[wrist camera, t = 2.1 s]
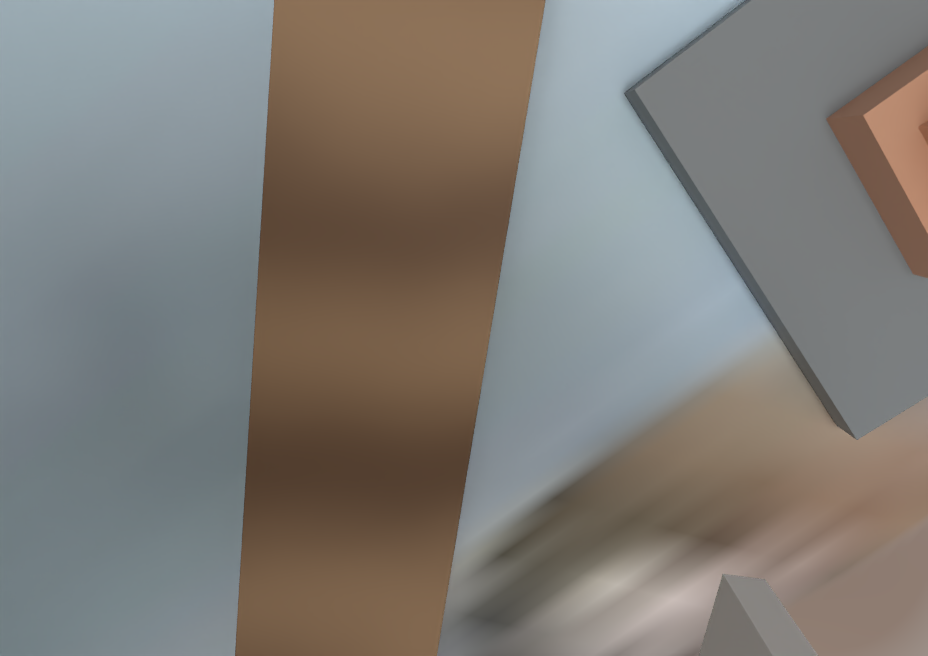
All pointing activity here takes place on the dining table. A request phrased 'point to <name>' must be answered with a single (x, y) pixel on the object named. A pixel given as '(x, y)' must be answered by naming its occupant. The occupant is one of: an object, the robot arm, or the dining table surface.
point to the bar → (374, 311)
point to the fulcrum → (815, 182)
